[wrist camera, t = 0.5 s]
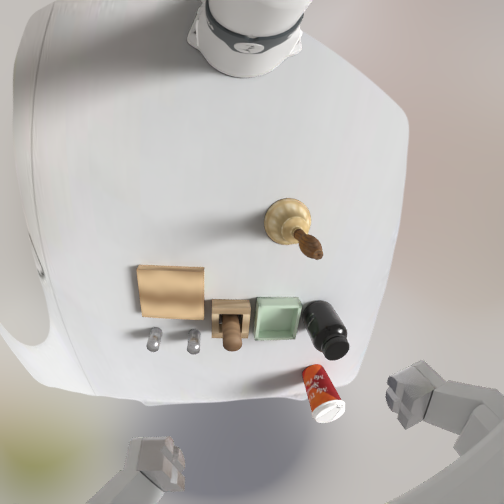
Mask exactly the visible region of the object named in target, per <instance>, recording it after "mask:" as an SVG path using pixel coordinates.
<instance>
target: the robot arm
mask: <svg viewBox="0 0 504 504" xmlns="http://www.w3.org/2000/svg"><path fill="white" fill-rule="evenodd" d="M201 2H202V5H201V7H199V8H198V11H197V15H196V18H195V20H194V22H193V24H192V27H191V29H190V31H189V34H188V36H187V42H188V43H189V44H190V45H191V46H193V47H194V48H196V49H198V50H199V51H200V52H201V53H202V54H203V56H204V57H205V59H206V60H207V61H208V63H209V64H210V65H211V66H213V67H214V68H215V69H217V70H218V71H220V72H222V73H224V74H227V75H230V76H234V77H241V78H250V77H257V76H261V75H264V74H267V73H269V72H271V71H272V70H274V69H275V68H277V67H278V66H279V65H280V64H281V63H282V62H283V61H284V60H285V59H286V58H288V57H291V56H294V55H296V54H298V53H299V52H300V51H301V49H302V45H301V39H300V37H301V36H302V31H301V30H300V24H301V21H302V18H303V15H304V11H305V10H306V9H307V7H308V6H309V5H310V3H311V2H312V0H201ZM195 32H196V34H194V33H195ZM387 384H388V385H389V388H388V389H387V391H386V401H387V404H388V406H389V408H390V409H391V411H392V412H395V413H398V420H399V422H400V423H401V424H402V426H403V427H404V429H408V428H410V427H412V426H413V425H415V424H417V423H419V422H421V421H422V420H423V421H425V422H427V423H430V424H432V425H435V426H437V427H440V428H442V429H445V430H447V431H450V432H453V433H456V434H458V435H460V436H459V437H458V439H457V441H456V442H455V444H454V449H455V450H456V451H457V453H458V454H459V455H460V458H458V459H457V460H456V461H454V462H453V463H452V464H450V465H449V466H448V467H446V468H445V469H443V470H442V471H440V472H439V473H437V474H436V475H434V476H433V477H431V478H430V479H428V480H427V481H425V482H423V483H422V484H420V485H418V486H417V487H415V488H413V489H412V490H410V491H408V492H406V493H404V494H403V495H401V496H399V497H397V498H395V499H393V500H391V501H389V502H387V503H385V504H504V396H503V395H502V394H501V393H500V392H499V391H498V390H497V389H491V388H486V387H480V386H475V385H470V384H465V383H459V382H455V381H450V380H449V381H447V382H446V381H445V380H444V379H443V378H442V377H441V376H440V375H439V374H438V373H437V372H436V371H434V370H433V369H432V368H431V367H430V366H429V365H428V364H427V363H426V362H425V361H423V360H420V361H418V362H416V363H415V364H413V365H411V366H408V367H406V368H405V369H403V370H401V371H399V372H397V373H395V374H393V375H391V376H389V378H388V381H387ZM184 469H185V460H184V456H183V453H182V451H181V450H180V448H179V447H177V446H175V445H174V441H173V439H172V438H171V437H170V436H169V437H137V438H136V437H135V438H132V439H131V440H130V442H129V447H128V451H127V456H126V460H125V465H124V470H120V471H119V472H118V473H117V474H116V475H115V476H114V477H113V478H112V479H111V480H110V481H109V482H108V483H107V484H106V485H105V486H104V487H102V488H101V489H100V490H99V491H98V492H97V493H96V494H95V495H94V496H93V497H92V498H91V499H90V500H89V501H87V502H86V504H157V503H158V501H159V500H160V498H161V497H162V495H163V494H164V492H176V491H184V489H185V488H184V487H185V477H184V476H183V475H182V474H181V472H182V471H183V470H184Z"/></svg>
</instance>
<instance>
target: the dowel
mask: <svg viewBox="0 0 504 504" xmlns="http://www.w3.org/2000/svg"><path fill="white" fill-rule="evenodd" d="M222 333H223V347H224V348H225V349H226V350H228V351H237V350H239V349H240V348H241V346H242V340H241V332H240V325H239V317H238V314H222Z"/></svg>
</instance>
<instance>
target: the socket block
mask: <svg viewBox="0 0 504 504" xmlns="http://www.w3.org/2000/svg"><path fill="white" fill-rule="evenodd" d="M250 313H251V306H250V302H249V300H226V299H212V338H223V333H222V324H219V314H241V323H240V324H239V325H240V332H241V338H248V333H249V323H250Z"/></svg>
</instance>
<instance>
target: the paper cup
mask: <svg viewBox="0 0 504 504" xmlns="http://www.w3.org/2000/svg"><path fill="white" fill-rule="evenodd" d="M302 376H303V380H304V384H305V388H306V392H307V395H308V399H309V402H310V406H311V410H312V418H313V419H315V421H317V422H319V423H327V422H331V421H333V420H335V419H337V418H339V417H340V416H341V415H342V414H343V413H344V411H345V403H344V402H343V401H342V400H341V398H340V397H339V395H338V393H337V391H336V389H335V387H334V386H333V384H332V382H331V380H330V378H329V377H328V375H327V373H326V371H325V370H324V368H323V367H322V366H321V365H318V364H315V365H311V366H309V367H307V368H306V369H305V370H304V371H303V374H302Z"/></svg>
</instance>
